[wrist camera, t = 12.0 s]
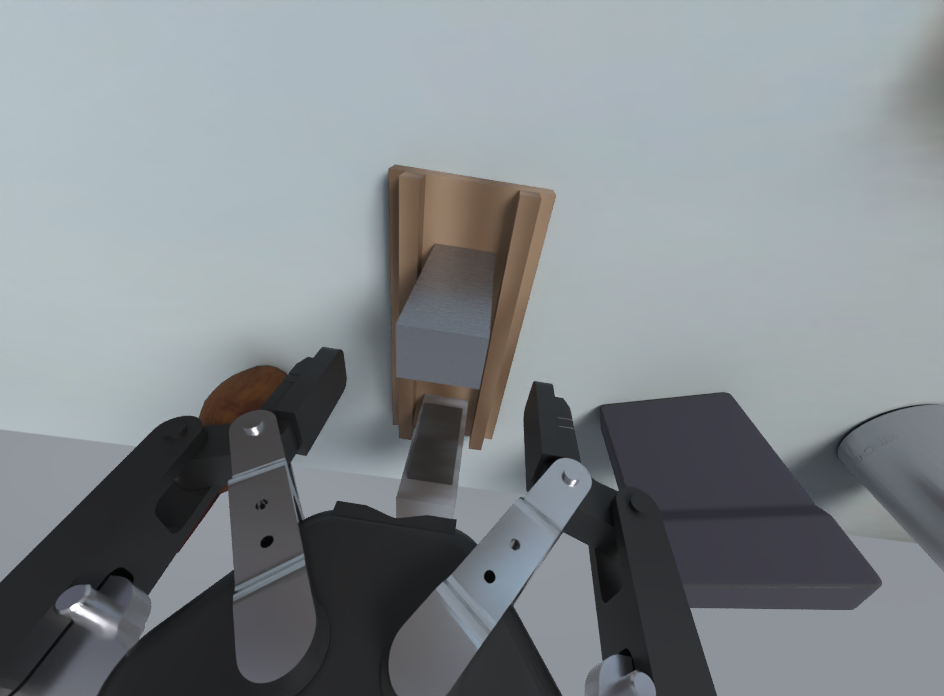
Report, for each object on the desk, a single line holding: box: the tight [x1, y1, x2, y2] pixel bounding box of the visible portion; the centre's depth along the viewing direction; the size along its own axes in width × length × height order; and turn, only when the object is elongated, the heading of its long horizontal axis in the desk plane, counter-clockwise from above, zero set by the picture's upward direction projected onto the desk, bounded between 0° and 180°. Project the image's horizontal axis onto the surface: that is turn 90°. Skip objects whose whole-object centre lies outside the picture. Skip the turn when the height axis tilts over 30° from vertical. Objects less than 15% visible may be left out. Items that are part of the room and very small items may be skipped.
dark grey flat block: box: [600, 393, 882, 610], centre depth 25 cm, size 11×4×15 cm, turn 104°
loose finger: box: [396, 243, 495, 389], centre depth 19 cm, size 4×3×10 cm
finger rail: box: [389, 165, 556, 519], centre depth 23 cm, size 10×23×12 cm, turn 172°
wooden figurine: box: [177, 366, 287, 553], centre depth 27 cm, size 7×6×15 cm
